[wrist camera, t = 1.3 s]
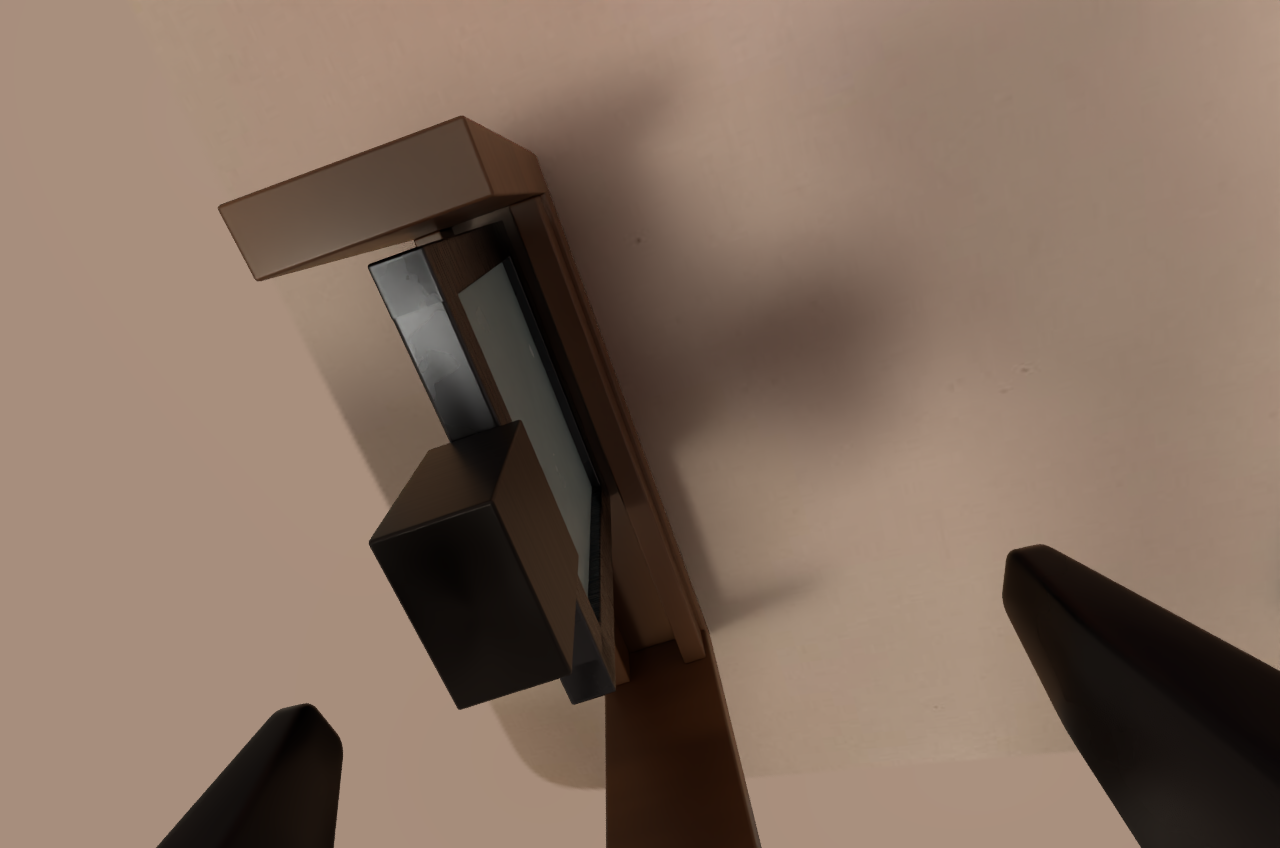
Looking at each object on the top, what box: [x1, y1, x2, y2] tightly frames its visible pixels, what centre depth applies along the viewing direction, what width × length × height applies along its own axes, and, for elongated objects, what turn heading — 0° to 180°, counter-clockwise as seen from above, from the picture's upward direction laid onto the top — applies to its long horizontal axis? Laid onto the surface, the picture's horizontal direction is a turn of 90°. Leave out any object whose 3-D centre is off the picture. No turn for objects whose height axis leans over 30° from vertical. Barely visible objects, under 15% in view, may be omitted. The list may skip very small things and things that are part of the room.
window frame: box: [218, 116, 761, 848], centre depth 18 cm, size 4×19×11 cm, turn 19°
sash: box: [368, 221, 616, 710], centre depth 16 cm, size 2×10×13 cm, turn 19°
